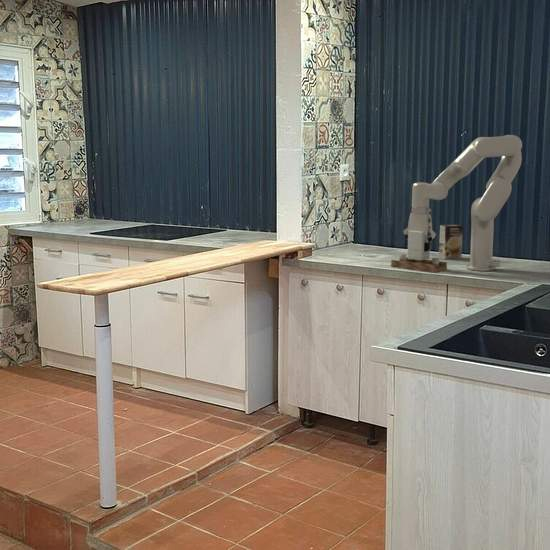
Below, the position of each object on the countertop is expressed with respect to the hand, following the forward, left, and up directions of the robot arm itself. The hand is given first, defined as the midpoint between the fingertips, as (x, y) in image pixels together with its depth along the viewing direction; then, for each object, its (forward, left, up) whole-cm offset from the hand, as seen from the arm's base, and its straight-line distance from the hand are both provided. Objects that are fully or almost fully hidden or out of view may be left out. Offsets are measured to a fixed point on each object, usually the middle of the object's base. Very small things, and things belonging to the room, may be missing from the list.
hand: (418, 250), depth 351 cm
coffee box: (+3, -33, -8) cm, 34 cm away
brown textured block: (0, 0, -8) cm, 8 cm away
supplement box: (0, 0, -4) cm, 4 cm away
